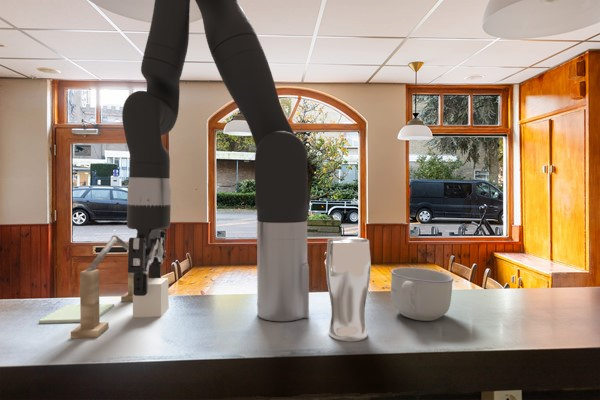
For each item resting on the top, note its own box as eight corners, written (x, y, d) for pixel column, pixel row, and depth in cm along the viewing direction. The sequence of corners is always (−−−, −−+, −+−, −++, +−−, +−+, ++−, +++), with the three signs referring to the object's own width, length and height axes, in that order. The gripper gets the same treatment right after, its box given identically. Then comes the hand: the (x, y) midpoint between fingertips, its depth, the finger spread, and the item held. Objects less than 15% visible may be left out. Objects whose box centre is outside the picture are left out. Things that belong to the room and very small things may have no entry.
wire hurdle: (147, 295, 83) (146, 229, 83) (97, 337, 59) (96, 243, 59) (128, 296, 83) (127, 229, 82) (70, 338, 59) (69, 243, 58)
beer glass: (369, 344, 56) (370, 243, 56) (323, 341, 57) (323, 242, 57) (370, 328, 63) (371, 237, 62) (328, 325, 64) (329, 236, 64)
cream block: (168, 308, 74) (168, 277, 74) (161, 316, 69) (161, 284, 69) (142, 309, 74) (141, 278, 73) (132, 317, 69) (132, 284, 68)
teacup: (409, 303, 77) (409, 264, 77) (463, 315, 69) (463, 272, 69) (369, 319, 67) (369, 274, 67) (426, 336, 59) (426, 285, 59)
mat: (114, 306, 75) (114, 303, 75) (93, 321, 66) (93, 318, 66) (66, 307, 74) (66, 305, 74) (38, 323, 65) (38, 320, 65)
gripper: (159, 204, 64) (157, 300, 64) (178, 202, 78) (177, 280, 78) (112, 203, 63) (111, 300, 64) (141, 201, 78) (140, 280, 78)
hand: (148, 289), depth 71 cm, fingers open, 8 cm apart
